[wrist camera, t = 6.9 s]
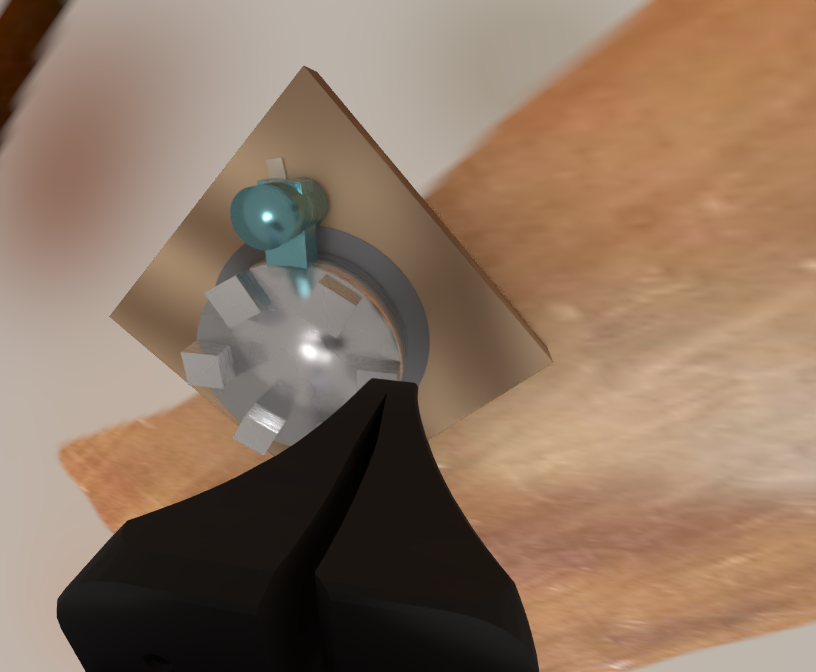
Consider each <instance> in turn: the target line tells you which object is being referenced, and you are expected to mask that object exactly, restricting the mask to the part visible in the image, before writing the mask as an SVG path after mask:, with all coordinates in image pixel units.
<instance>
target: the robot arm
mask: <svg viewBox="0 0 816 672" xmlns="http://www.w3.org/2000/svg"><path fill="white" fill-rule="evenodd" d="M57 619H58V621H59V624H60V627H61V629H62V631H63V633H64V635H65V636H66V638H67V640H68V641H69V643H70V645H71V647H72V648H73V650H74V652H75V654H76V655H77V657H78V659H79V660H80V662H81V664H82V666H83V668H84V669H85V672H539V667H538V660H537V654H536V650H535V646H534V641H533V637H532V634H531V630H530V626H529V623H528V620H527V616H526V613H525V610H524V607H523V604H522V602H521V599H520V596H519V593H518V591H517V588H516V585H515V583H514V581H513V580H512V579H511V578H510V577H509V575H508V574H507V573H506V572H505V571H504V569H503V568H502V567H501V566H500V565H499V563H498V562H497V561H496V559H495V558H494V557H493V556H492V554H491V553H490V552H489V550H488V549H487V548H486V546H485V545H484V544H483V542H482V541H481V539H480V538H479V537H478V535H477V534H476V532H475V531H474V530H473V528H472V527H471V525H470V523H469V522H468V520H467V519H466V517H465V515H464V514H463V512H462V511H461V509H460V507H459V506H458V504H457V503H456V501H455V499H454V498H453V496H452V494H451V492H450V490H449V488H448V487H447V485H446V483H445V481H444V479H443V477H442V475H441V472H440V470H439V468H438V466H437V464H436V461H435V459H434V457H433V454H432V451H431V449H430V446H429V443H428V441H427V437H426V434H425V431H424V427H423V424H422V420H421V416H420V411H419V405H418V386H417V384H416V383H413V382H404V381H395V380H386V379H377V378H371V379H370V380H369V381H368V382H366V383H365V384H364V385H363V386H362V387H361V388H360V389H359V390H358V391H357V392H356V393H355V394H354V395H353V396H352V397H351V398H350V399H349V400H348V401H347V402H346V403H345V404H343V405H342V406H341V407H340V408H339V409H338V410H337V411H336V412H334V413H333V414H332V415H331V416H330V417H329V418H328V419H326V420H325V421H324V422H323V423H321V424H320V425H319V426H317V427H316V428H315V429H314V430H312V431H311V432H310V433H309V434H307V435H306V436H305V437H303V438H302V439H300V440H299V441H298V442H296V443H295V444H293V445H292V446H290V447H289V448H287V449H286V450H284V451H282V452H281V453H279V454H278V455H276V456H274V457H273V458H271V459H269V460H267V461H265V462H264V463H262V464H260V465H258V466H256V467H254V468H252V469H251V470H249V471H247V472H245V473H243V474H241V475H240V476H238V477H236V478H233V479H231V480H229V481H227V482H225V483H223V484H221V485H219V486H216V487H214V488H212V489H210V490H207V491H205V492H203V493H200V494H198V495H196V496H193V497H191V498H188V499H186V500H183V501H181V502H178V503H175V504H173V505H170V506H167V507H164V508H162V509H159V510H156V511H153V512H151V513H148V514H145V515H143V516H140V517H137V518H134V519H131V520H128V521H127V522H126V523H125V524H124V525H123V526H122V527H121V528H120V529H119V530H118V531H117V532H116V533H115V534H114V535H113V536H112V537H111V538H110V539H109V540H108V541H107V543H106V544H105V545H104V546H103V547H102V548H101V549H100V550H99V552H98V553H97V554H96V555H95V556H94V557H93V558H92V559H91V560H90V562H89V563H88V564H87V565H86V566H85V567H84V568H83V569H82V571H81V572H80V573H79V574H78V575H77V576H76V578H75V579H74V580H73V581H72V582H71V583H70V584H69V585H68V586H67V587H66V588H65V590H64V591H63V593H62V594H61V595H60V596H59V598H58V600H57Z"/></svg>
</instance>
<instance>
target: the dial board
mask: <svg viewBox="0 0 816 672" xmlns="http://www.w3.org/2000/svg"><path fill="white" fill-rule="evenodd" d="M296 177H307V178H310V179H313V180H314V181H316V182H317V183H318V184H319V185H320V186H321V187H322V188H323V190H324V191H325V193H326V196H327V199H328V212H327V215H326V217H325V219H324V220H323V221H322V222H321V223H320V224H319V225H317V226H316V241H317V252H322V253H326V254H330V255H333V256H336V257H339V258H341V259H344V260H346V261H348V262H350V263H352V264H354V265H356V266H357V267H359V268H361V269H362V270H363V271H365V272H366V273H367V274H369V275H370V276H371V277H372V278H374V279H375V280H376V281H377V282H378V283H379V284H380V285H381V286H382V287H383V289H384V290H385V291H386V292H387V293H388V295H389V296H390V297H391V299H392V300H393V302H394V304H395V305H396V307H397V309H398V311H399V313H400V315H401V317H402V320H403V324H404V327H405V330H406V336H407V348H408V353H407V361H406V365H405V369H404V373H403V376H402V380H401V381H404V382H413V383H416V384H417V386H418V405H419V411H420V416H421V420H422V424H423V427H424V431H425V434H426V437H427V440H429V439H430V438H432V437H434V436H435V435H437V434H439V433H440V432H442V431H443V430H445V429H447V428H448V427H450V426H451V425H453V424H455V423H456V422H458V421H460V420H461V419H463V418H464V417H466V416H468V415H469V414H471V413H472V412H474V411H476V410H477V409H479V408H481V407H482V406H484V405H485V404H487V403H489V402H490V401H492V400H493V399H495V398H497V397H498V396H500V395H502V394H503V393H505V392H506V391H508V390H510V389H511V388H513V387H514V386H516V385H518V384H519V383H521V382H523V381H524V380H526V379H527V378H529V377H531V376H532V375H534V374H535V373H537V372H539V371H540V370H542V369H544V368H545V367H547V366H548V365H550V364H552V363H553V361H552V358H551V356H550V353H549V351H548V348H547V347H546V346H545V344H544V343H543V342H542V341H541V340H540V338H539V337H538V336H537V335H536V334H535V332H534V331H533V330H532V329H531V328H530V326H529V325H528V324H527V323H526V322H525V320H524V319H523V318H522V317H521V316H520V314H519V313H518V312H517V311H516V310H515V308H514V307H513V306H512V305H511V304H510V302H509V301H508V300H507V299H506V298H505V296H504V295H503V294H502V293H501V292H500V290H499V289H498V288H497V287H496V286H495V284H494V283H493V282H492V281H491V280H490V278H489V277H488V276H487V275H486V274H485V273H484V271H483V270H482V269H481V268H480V267H479V265H478V264H477V263H476V262H475V261H474V259H473V258H472V257H471V256H470V255H469V253H468V252H467V251H466V250H465V249H464V247H463V246H462V245H461V244H460V243H459V241H458V240H457V239H456V238H455V237H454V235H453V234H452V233H451V232H450V231H449V229H448V228H447V227H446V226H445V225H444V223H443V222H442V221H441V220H440V219H439V217H438V216H437V215H436V214H435V213H434V211H433V210H432V209H431V208H430V207H429V205H428V204H427V203H426V202H425V201H424V199H423V198H422V197H421V196H420V195H419V193H418V192H417V191H416V190H415V189H414V188H413V186H412V185H411V184H410V183H409V182H408V180H407V179H406V178H405V177H404V176H403V174H402V173H401V172H400V171H399V170H398V168H397V167H396V166H395V165H394V164H393V163H392V161H391V160H390V159H389V158H388V156H386V154H385V153H384V152H383V150H381V148H380V147H379V146H378V144H377V143H376V142H375V141H374V140H373V138H372V137H371V136H370V135H369V134H368V132H367V131H366V130H365V129H364V128H363V126H362V125H361V124H360V123H359V122H358V120H357V119H356V118H355V117H354V116H353V115H352V113H351V112H350V111H349V110H348V108H347V107H346V106H345V105H344V104H343V102H342V101H341V100H340V99H339V98H338V96H337V95H336V94H335V93H334V92H333V91H332V89H331V88H330V87H329V86H328V85H327V83H326V82H325V81H324V80H323V79H322V77H321V76H320V75H319V74H318V73H317V72H316V71H314V70H312V69H310V68H308V67H305V66H303V67H302V68H301V70H300V71H299V72H298V74H297V75H296V76H295V78H294V79H293V80H292V81H291V83H290V84H289V85H288V87H287V88H286V89H285V90H284V92H283V93H282V94H281V95H280V97H279V98H278V99H277V101H276V102H275V103H274V105H273V106H272V107H271V108H270V110H269V111H268V112H267V114H266V115H265V116H264V118H263V119H262V120H261V122H260V123H259V124H258V125H257V127H256V128H255V129H254V131H253V132H252V133H251V134H250V136H249V137H248V138H247V139H246V141H245V142H244V143H243V145H242V146H241V147H240V148H239V150H238V151H237V152H236V154H235V155H234V156H233V158H232V159H231V160H230V161H229V163H228V164H227V165H226V167H225V168H224V169H223V170H222V172H221V173H220V174H219V176H218V177H217V178H216V180H215V181H214V182H213V183H212V185H211V186H210V187H209V189H208V190H207V191H206V192H205V194H204V195H203V196H202V198H201V199H200V200H199V201H198V203H197V204H196V205H195V207H194V208H193V209H192V210H191V212H190V213H189V214H188V216H187V217H186V218H185V219H184V221H183V222H182V223H181V225H180V226H179V227H178V229H177V230H176V231H175V233H174V234H173V235H172V236H171V238H170V239H169V240H168V241H167V243H166V244H165V245H164V247H163V248H162V249H161V250H160V252H159V253H158V254H157V256H156V257H155V258H154V260H153V261H152V262H151V264H150V265H149V266H148V267H147V269H146V270H145V271H144V273H143V274H142V275H141V276H140V278H139V279H138V280H137V281H136V283H135V284H134V286H133V287H132V288H131V289H130V291H129V292H128V293H127V294H126V296H125V297H124V298H123V300H122V301H121V302H120V303H119V305H118V306H117V307H116V309H115V310H114V311H113V313H112V314H111V315H110V318H112V319H113V320H114V321H115V322H116V323H118V324H119V325H120V326H121V327H122V328H123V329H125V330H126V331H127V332H128V333H129V334H131V335H132V336H133V337H134V338H135V339H136V340H138V341H139V342H140V343H141V344H142V345H143V346H145V347H146V348H147V349H148V350H150V351H151V352H152V353H153V354H154V355H155V356H157V357H158V358H159V359H160V360H161V361H162V362H164V363H165V364H166V365H167V366H168V367H170V368H171V369H172V370H173V371H174V372H175V373H177V374H178V375H179V376H180V377H181V378H182V379H184V380H185V381H186V382H187V383H188V381H187V377H186V373H185V369H184V365H183V360H182V356H181V351H183V350H184V349H185V348H187V347H188V346H189V345H191V344H192V343H194V342H195V341H197V330H198V323H199V320H200V316H201V313H202V311H203V309H204V307H205V305H206V303H207V301H208V300H209V299H208V298H207V297H206V295H205V294H204V293H205V292H207V291H209V290H210V289H212V288H214V287H216V286H217V285H219V284H221V283H223V282H225V281H226V280H228V279H230V278H232V277H233V276H235V275H237V274H239V273H240V272H242V271H244V270H246V269H247V268H249V267H251V266H253V265H254V264H256V263H258V262H260V261H261V260H263V259H266V253H265V250H259V249H255V248H253V247H251V246H249V245H248V244H246V243H245V242H244V241H243V240H242V239H241V238H240V237H239V236H238V235H237V233H236V232H235V230H234V228H233V225H232V222H231V218H230V207H231V203H232V200H233V198H234V197H235V195H236V194H237V193H238V192H239V191H241V190H242V189H244V188H247V187H251V186H256V185H257V180H263V179H268V178H283V179H291V178H296ZM191 386H192V387H193V388H194V389H195V390H197V391H198V392H199V393H200V394H201V395H203V396H204V397H205V398H206V399H207V400H208V401H210V402H211V403H212V404H213V405H214V406H216V407H217V408H218V409H219V410H220V411H221V412H223V413H224V414H225V415H226V416H227V417H229V418H230V419H231V420H232V421H233V422H234V423H236V424H237V425H238V426H240V424H241V421H240V420H238V419H237V418H236V417H235V416H234V415H233V414H232V413H231V412H230V411H229V410H228V409H227V408H226V407H225V406H224V405H223V404H222V403H221V401H220V400H219V399H218V397H217V396H216V395H215V393H214V392H213V390H212V388H211V387H202V386H193V385H191ZM289 447H290V446H289V445H286V444H282V443H279V442H277V441H273V442H272V444H271V445H270V447H269V448H268V451H269V452H270V453H271V454H272V455H273V456H276V455H278V454H279V453H281V452H282V451H284V450H286V449H287V448H289Z"/></svg>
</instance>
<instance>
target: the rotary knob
mask: <svg viewBox="0 0 816 672" xmlns="http://www.w3.org/2000/svg"><path fill="white" fill-rule="evenodd" d="M327 212H328V199H327V196H326V193H325V191H324V190H323V188H322V187H321V186H320V185H319V184H318V183H317V182H316V181H314V180H313V179H310V178H307V177H296V178H291V179H283V178H268V179H263V180H257V185H256V186H251V187H247V188H244V189H242V190H241V191H239V192H238V193H237V194H236V195H235V197H234V198H233V200H232V203H231V207H230V218H231V222H232V225H233V228H234V230H235V232H236V233H237V235H238V236H239V237H240V238H241V239H242V240H243V241H244V242H245V243H246V244H248V245H249V246H251V247H253V248H255V249H259V250H265V253H266V259H263V260H261V261H260V262H258V263H256V264H254V265H253V266H251V267H249V268H247V269H246V270H244V271H242V272H240V273H239V274H237V275H235V276H233V277H232V278H230V279H228V280H226V281H225V282H223V283H221V284H219V285H217V286H216V287H214V288H212V289H210V290H209V291H207V292H205V293H204V294H205V295H206V297H207V298H208V299H209V300H208V301H207V303H206V305H205V307H204V309H203V311H202V313H201V316H200V320H199V323H198V330H197V341H195V342H194V343H192V344H191V345H189V346H188V347H187V348H185V349H184V350H183V351H181V356H182V360H183V365H184V369H185V373H186V377H187V381H188V385H193V386H202V387H211V388H212V390H213V392H214V393H215V395H216V396H217V397H218V399H219V400H220V401H221V403H222V404H223V405H224V406H225V407H226V408H227V409H228V410H229V411H230V412H231V413H232V414H233V415H234V416H235V417H236V418H237V419H238V420H240V421H241V424H240V426H239V427H238V429H237V431H236V433H235V435H234V437H233V438H232V439H234V440H236V441H238V442H239V443H241V444H243V445H245V446H247V447H249V448H250V449H252V450H254V451H256V452H258V453H259V454H261V455H263V456H264V455H265V453H266V451H267V450H268V448H269V447H270V445H271V444H272V442H273V441H277V442H279V443H282V444H286V445H289V446H292V445H293V444H295V443H296V442H298V441H299V440H300V439H302V438H303V437H305V436H306V435H307V434H309V433H310V432H311V431H312V430H314V429H315V428H316V427H317V426H319V425H320V424H321V423H323V422H324V421H325V420H326V419H328V418H329V417H330V416H331V415H332V414H333V413H334V412H336V411H337V410H338V409H339V408H340V407H341V406H342V405H343V404H345V403H346V402H347V401H348V400H349V399H350V398H351V397H352V396H353V395H354V394H355V393H356V392H357V391H358V390H359V389H360V388H361V387H362V386H363V385H364V384H365V383H366V382H368V381H369V380H370V379H371V378H377V379H386V380H395V381H401V380H402V376H403V373H404V369H405V365H406V361H407V353H408V348H407V336H406V330H405V327H404V324H403V320H402V317H401V315H400V313H399V311H398V309H397V307H396V305H395V304H394V302H393V300H392V299H391V297H390V296H389V295H388V293H387V292H386V291H385V290H384V289H383V287H382V286H381V285H380V284H379V283H378V282H377V281H376V280H375V279H374V278H372V277H371V276H370V275H369V274H367V273H366V272H365V271H363V270H362V269H361V268H359V267H357V266H356V265H354V264H352V263H350V262H348V261H346V260H344V259H341V258H339V257H336V256H333V255H330V254H326V253H322V252H317V241H316V226H317V225H319V224H320V223H321V222H322V221H323V220H324V219H325V217H326V215H327Z"/></svg>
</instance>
